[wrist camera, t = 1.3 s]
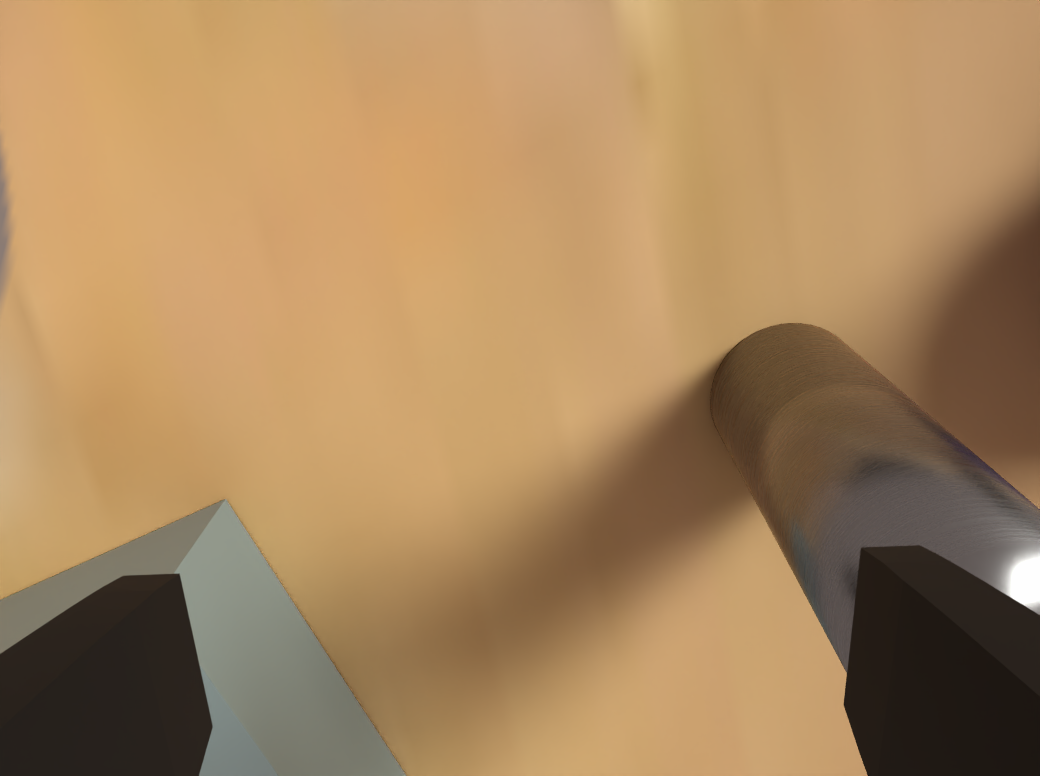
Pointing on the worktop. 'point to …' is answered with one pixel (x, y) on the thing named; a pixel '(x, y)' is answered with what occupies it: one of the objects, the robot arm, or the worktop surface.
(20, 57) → the worktop surface
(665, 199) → the worktop surface
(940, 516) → the long pin
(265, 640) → the hole block
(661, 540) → the worktop surface
